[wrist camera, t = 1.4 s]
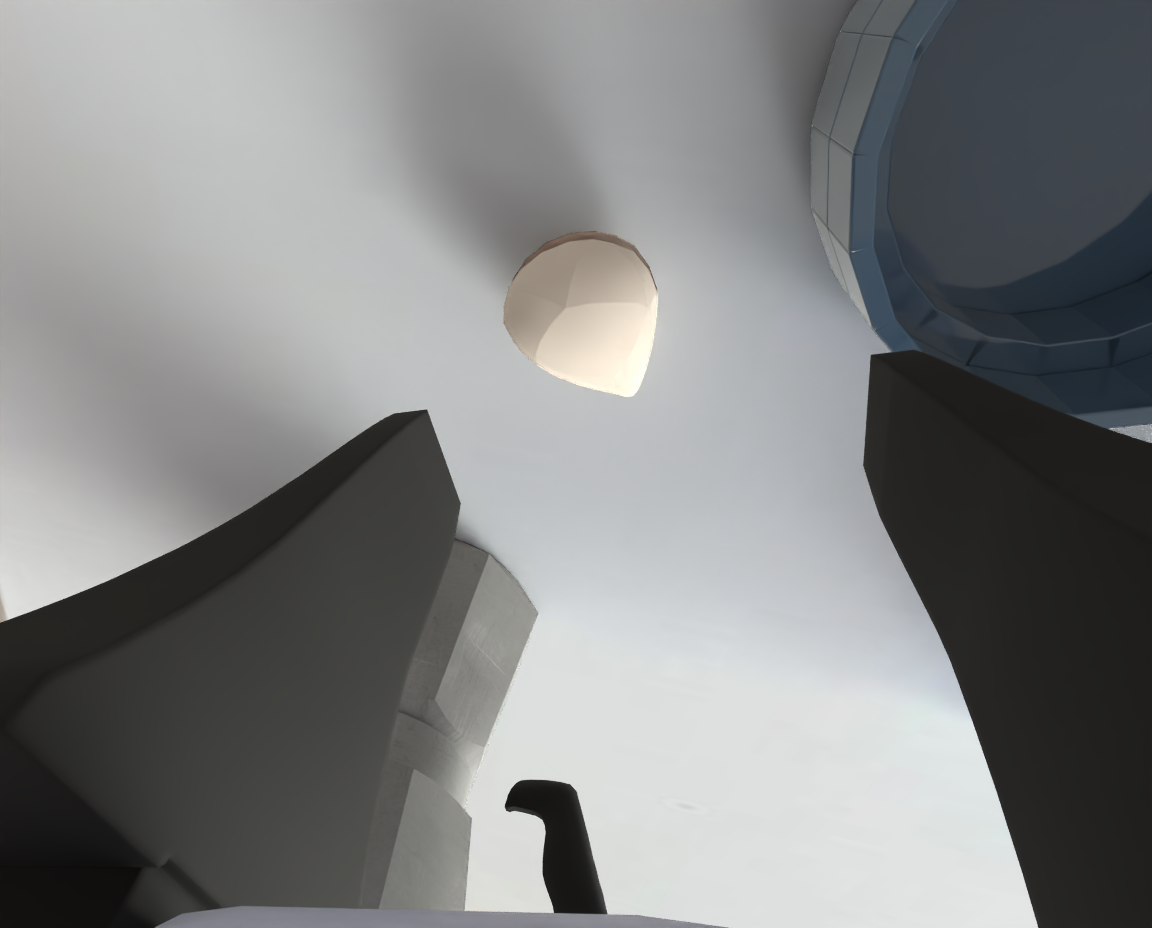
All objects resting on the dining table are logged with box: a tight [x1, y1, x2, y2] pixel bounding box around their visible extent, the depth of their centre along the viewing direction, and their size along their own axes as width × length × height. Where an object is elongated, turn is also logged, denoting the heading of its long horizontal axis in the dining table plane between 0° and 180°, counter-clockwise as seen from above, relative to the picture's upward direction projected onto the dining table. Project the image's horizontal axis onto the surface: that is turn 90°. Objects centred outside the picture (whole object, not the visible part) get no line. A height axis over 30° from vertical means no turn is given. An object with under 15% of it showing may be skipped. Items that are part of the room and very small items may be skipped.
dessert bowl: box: [810, 0, 1152, 429], centre depth 14 cm, size 12×12×4 cm
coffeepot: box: [361, 540, 607, 914], centre depth 20 cm, size 15×9×18 cm, turn 97°
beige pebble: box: [504, 231, 657, 397], centre depth 18 cm, size 4×5×2 cm
